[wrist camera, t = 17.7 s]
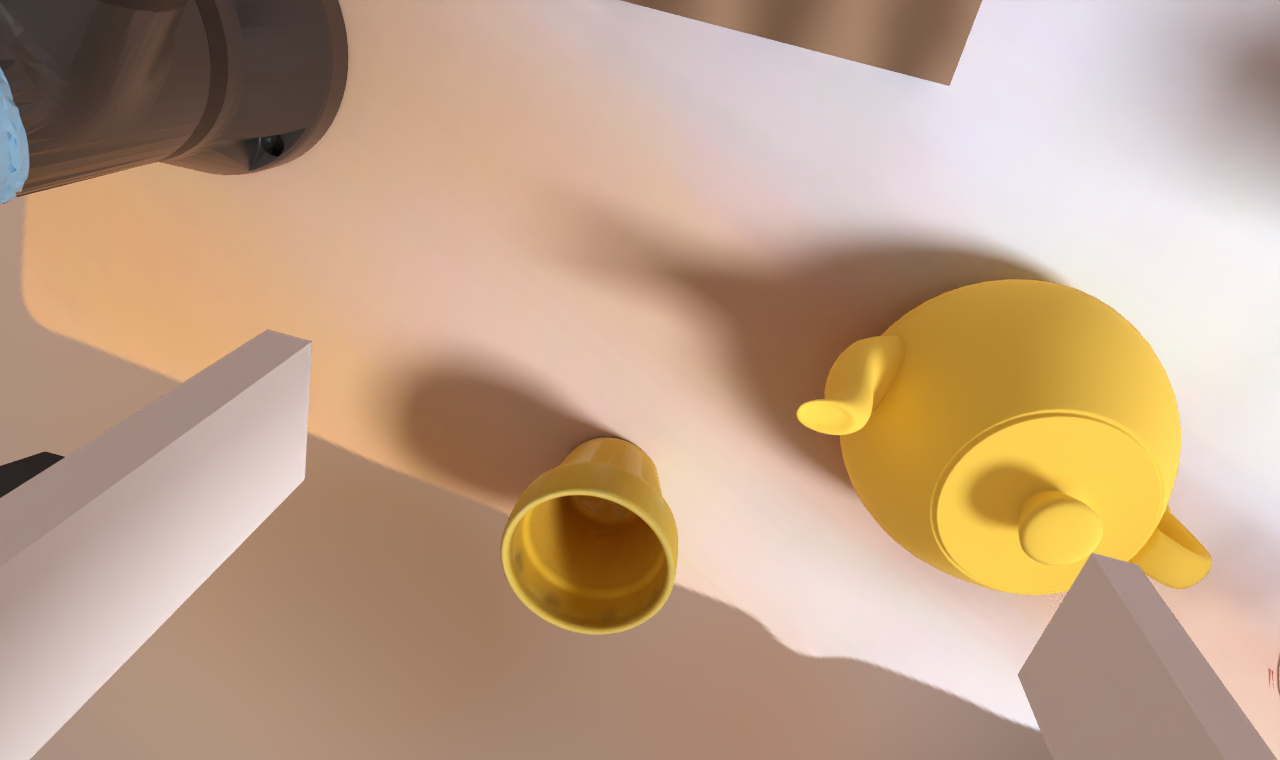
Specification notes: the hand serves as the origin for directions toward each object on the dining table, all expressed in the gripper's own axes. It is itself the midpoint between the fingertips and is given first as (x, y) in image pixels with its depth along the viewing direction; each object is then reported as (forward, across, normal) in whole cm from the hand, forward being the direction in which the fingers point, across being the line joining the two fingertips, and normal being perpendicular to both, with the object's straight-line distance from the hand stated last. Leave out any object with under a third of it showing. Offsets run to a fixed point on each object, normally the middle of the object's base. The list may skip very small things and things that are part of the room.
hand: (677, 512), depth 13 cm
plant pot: (+35, -2, -22) cm, 41 cm away
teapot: (+35, +18, -10) cm, 40 cm away
